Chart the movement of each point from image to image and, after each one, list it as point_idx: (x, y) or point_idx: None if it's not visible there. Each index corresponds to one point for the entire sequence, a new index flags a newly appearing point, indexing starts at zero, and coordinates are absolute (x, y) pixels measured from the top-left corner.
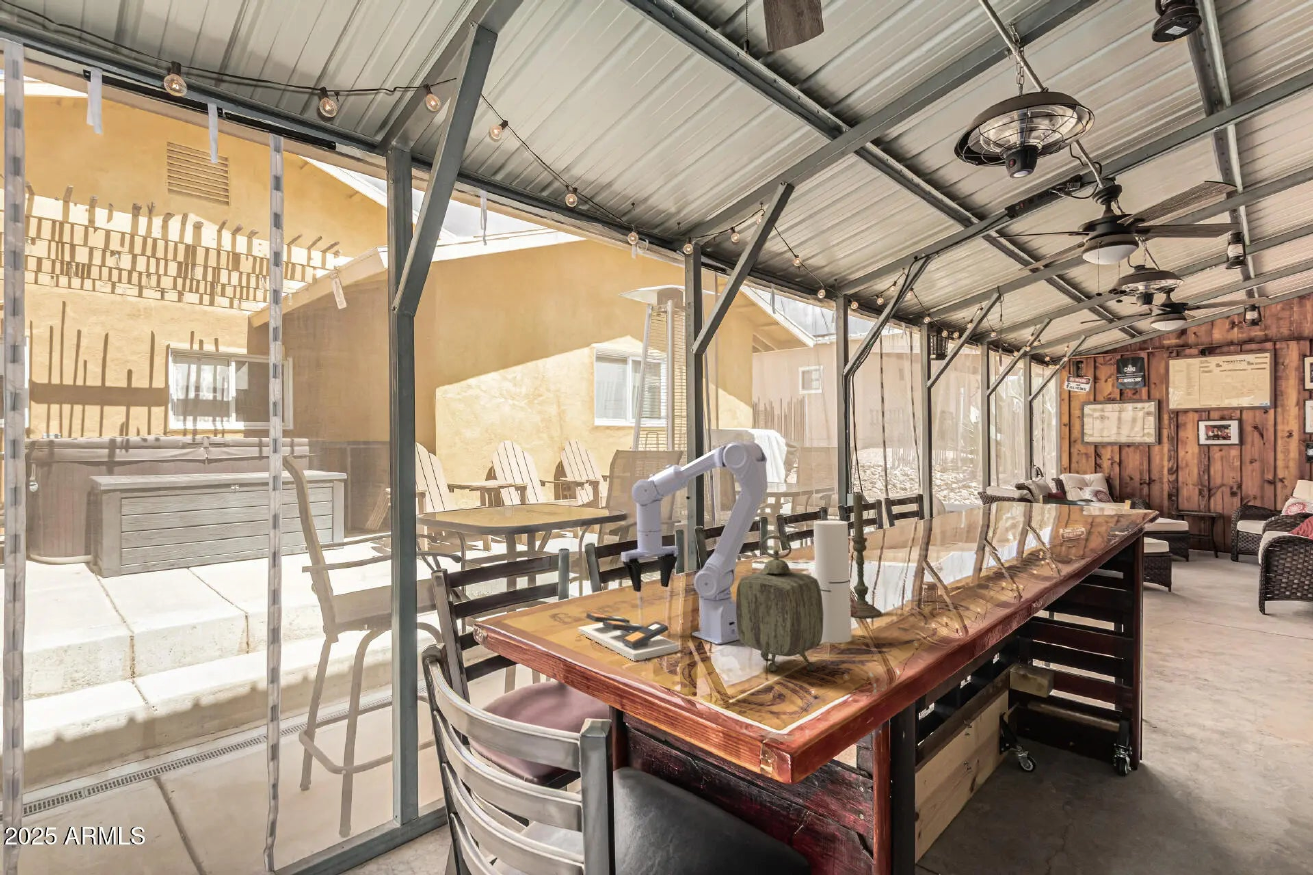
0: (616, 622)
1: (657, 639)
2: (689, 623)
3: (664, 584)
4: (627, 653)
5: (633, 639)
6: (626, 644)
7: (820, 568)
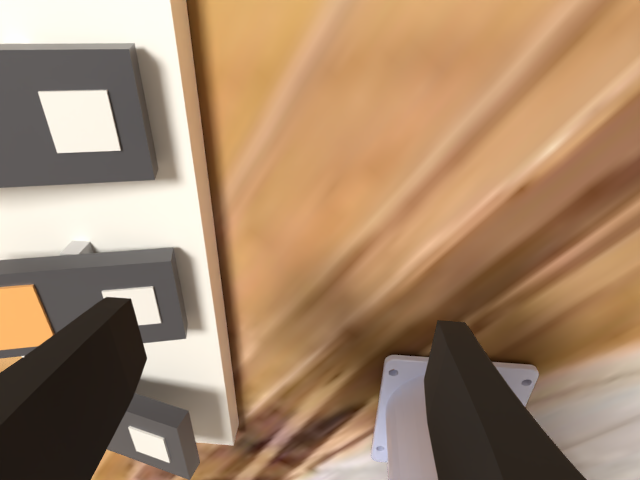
0: (2, 316)
1: (191, 384)
2: (542, 216)
3: (432, 380)
4: None
5: None
6: None
7: None
